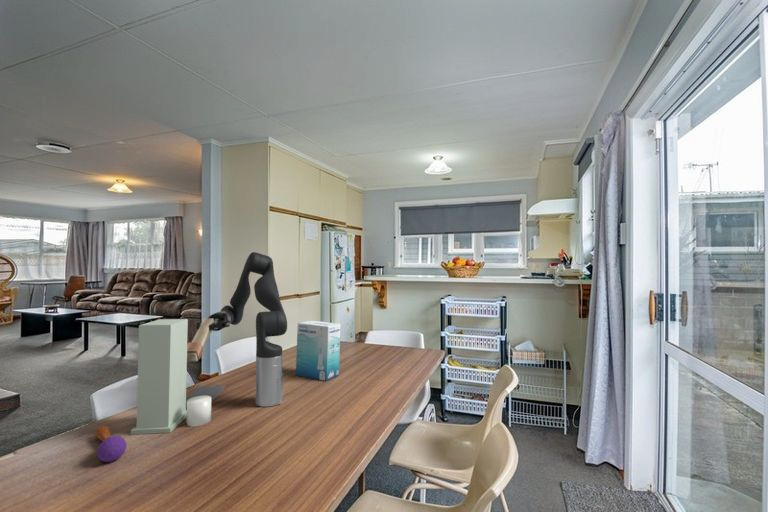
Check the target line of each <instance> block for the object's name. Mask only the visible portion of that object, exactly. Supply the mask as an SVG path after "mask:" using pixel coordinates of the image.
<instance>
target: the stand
mask: <svg viewBox="0 0 768 512" xmlns="http://www.w3.org/2000/svg"><path fill="white" fill-rule="evenodd" d="M188 321H189V320H188V319H187V318H179V319H178V318H171V319H170V318H169V319H167V318H166V319H165V318H164V319H161V318H160V319H156V320H153V321H150V322H147V323H143V324H139V325H138V347H137V349H138V351H137V352H138V353H137V354H138V356H137V389H136V390H137V392H136V395H137V397H136V426H135V427H133V428H132V429H130V435H144V434H145V435H146V434H165V433H168V434H169V433H172V431H174V429H176V428H177V427H178V425H179V424H181V423H182V422H183V421H184V420H185V419H187V410H186V397H187V375H188V374H187V369H188V362H187V345H188V331H189V328H188V327H189V326H188V323H189V322H188Z"/></svg>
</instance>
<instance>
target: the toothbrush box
mask: <svg viewBox="0 0 768 512" xmlns="http://www.w3.org/2000/svg"><path fill="white" fill-rule="evenodd" d="M341 327H342V325H341V323H336V322H329V321H328V322H327V321H320V320H319V321H318V320H306V321H301V322H297V329H296V331H297V332H296V333H297V335H296V356H295V357H296V360H295V361H296V362H295V363H296V364H295V375H296V376H299V377H304V378H308V377H309V378H310V379H313V378H314V380H318V379H319V380H320V381H323V380H324V381H323V382H327V381H329V380H332V379H333V377H334V378H336V377H338V376H337V375H339V376H340V356H341V355H340V353H341V350H340V349H341ZM335 376H336V377H335ZM319 380H318V381H319Z"/></svg>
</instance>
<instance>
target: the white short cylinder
mask: <svg viewBox="0 0 768 512" xmlns="http://www.w3.org/2000/svg"><path fill="white" fill-rule="evenodd" d="M211 421H212V402H211V397H210V396H197V397H193V398H190V399H189V400H187V417H186V424H185V425H186V426H188V427H201V426H205V425H207V424H208V423H210V422H211Z"/></svg>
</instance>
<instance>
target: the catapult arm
mask: <svg viewBox="0 0 768 512" xmlns="http://www.w3.org/2000/svg"><path fill="white" fill-rule="evenodd" d="M201 322H202V324H201V326H200V327H199V329H198V330H196V333H195V334H194V337H193V338H192V340H191V342H190V341H189V342H187V363H188V362H190V363H191V362H194V363H195V362H198V361H199V360H200V359H201V357H202V356H203V353H204V348H205V347H206V344H207V342H208V340H209V338H210V336H211V334H212V331H213V330H209V325H210V324H212V323H214V319H213V318H209V317H206V318H203V320H202V321H201Z"/></svg>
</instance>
